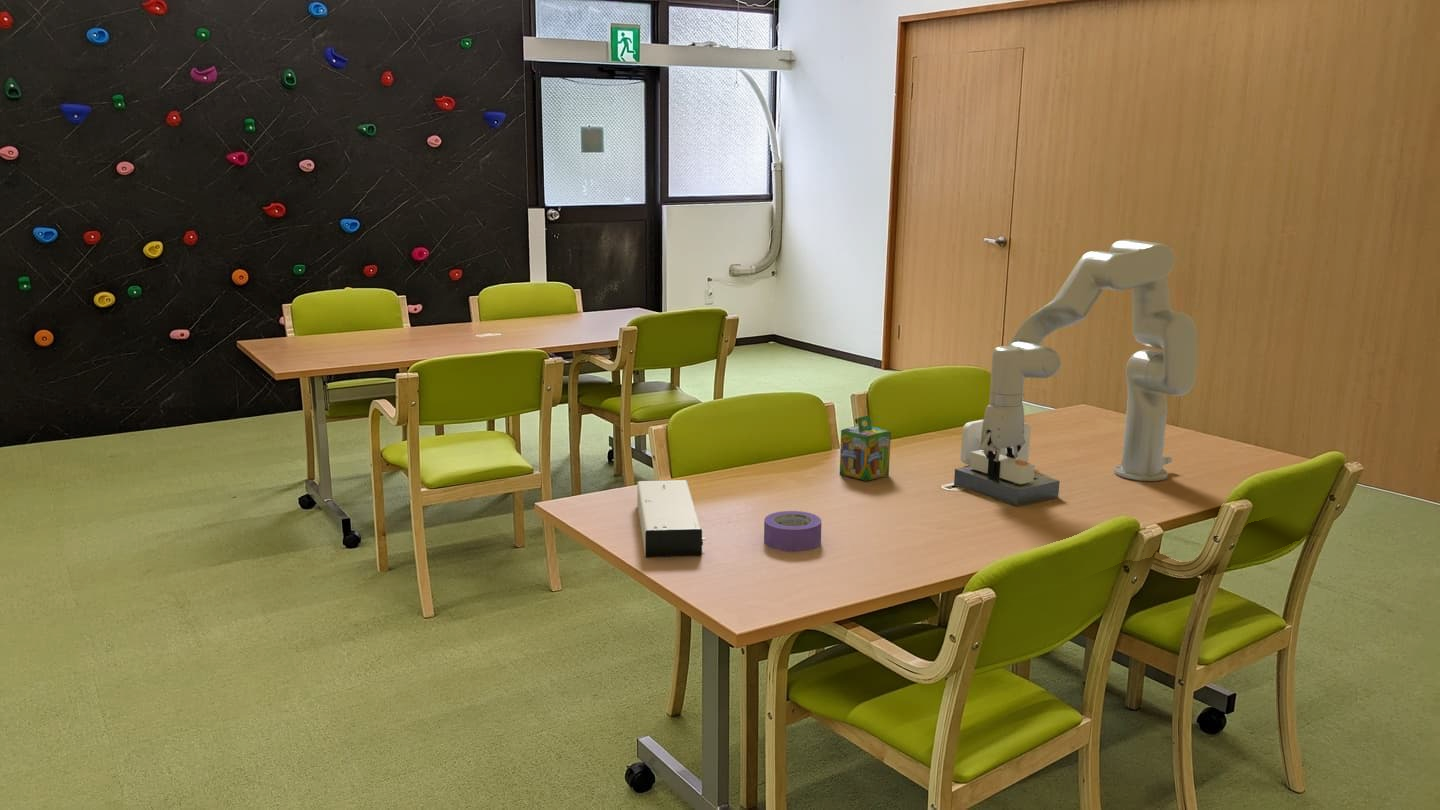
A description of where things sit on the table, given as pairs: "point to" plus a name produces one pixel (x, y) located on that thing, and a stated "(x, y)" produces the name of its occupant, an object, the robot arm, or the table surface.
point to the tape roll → (792, 531)
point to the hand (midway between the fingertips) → (1001, 474)
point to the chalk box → (865, 451)
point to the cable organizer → (973, 443)
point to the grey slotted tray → (1007, 487)
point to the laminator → (668, 519)
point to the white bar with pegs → (1004, 468)
